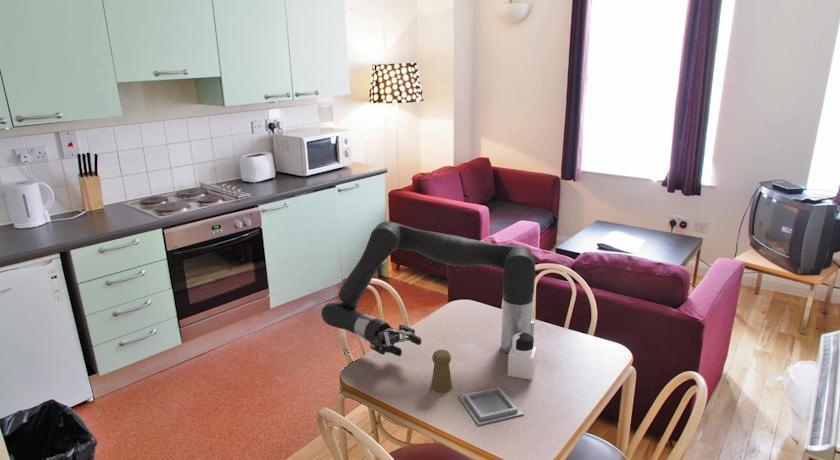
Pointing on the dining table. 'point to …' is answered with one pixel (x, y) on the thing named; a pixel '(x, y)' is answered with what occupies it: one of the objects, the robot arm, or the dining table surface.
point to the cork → (441, 371)
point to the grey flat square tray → (490, 406)
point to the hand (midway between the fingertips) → (410, 347)
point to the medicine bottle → (522, 356)
